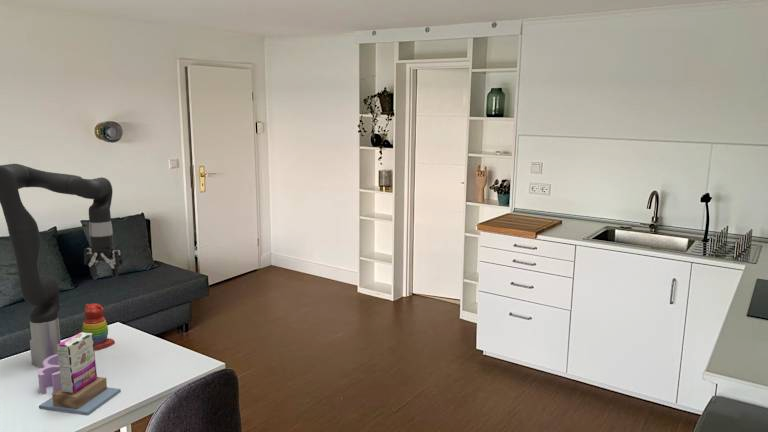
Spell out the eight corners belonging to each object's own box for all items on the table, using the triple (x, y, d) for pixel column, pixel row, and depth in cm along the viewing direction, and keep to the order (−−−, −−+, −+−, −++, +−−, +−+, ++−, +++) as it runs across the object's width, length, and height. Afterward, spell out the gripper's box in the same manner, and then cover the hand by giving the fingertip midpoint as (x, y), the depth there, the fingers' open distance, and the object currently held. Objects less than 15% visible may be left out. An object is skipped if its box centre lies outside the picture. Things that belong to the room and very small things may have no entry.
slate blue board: (39, 408, 189) (38, 405, 189) (74, 385, 205) (74, 383, 205) (88, 415, 186) (87, 412, 186) (120, 391, 201) (120, 388, 201)
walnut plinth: (53, 405, 189) (52, 394, 189) (83, 385, 203) (82, 375, 202) (77, 409, 187) (76, 397, 187) (106, 388, 201) (106, 377, 200)
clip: (68, 393, 200) (66, 374, 199) (29, 394, 199) (27, 375, 197) (90, 367, 219) (89, 350, 218) (55, 369, 218) (53, 351, 217)
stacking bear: (117, 342, 243) (113, 300, 239) (100, 352, 233) (96, 309, 230) (94, 339, 245) (90, 298, 242) (76, 349, 235) (72, 306, 232)
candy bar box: (84, 377, 200) (80, 331, 197) (97, 378, 199) (93, 332, 196) (60, 392, 190) (55, 344, 187) (73, 394, 189) (69, 345, 186)
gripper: (76, 234, 211) (80, 278, 214) (111, 236, 208) (115, 281, 211) (91, 230, 218) (94, 272, 221) (125, 232, 215) (128, 275, 218)
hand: (104, 276), depth 216 cm, fingers open, 8 cm apart
